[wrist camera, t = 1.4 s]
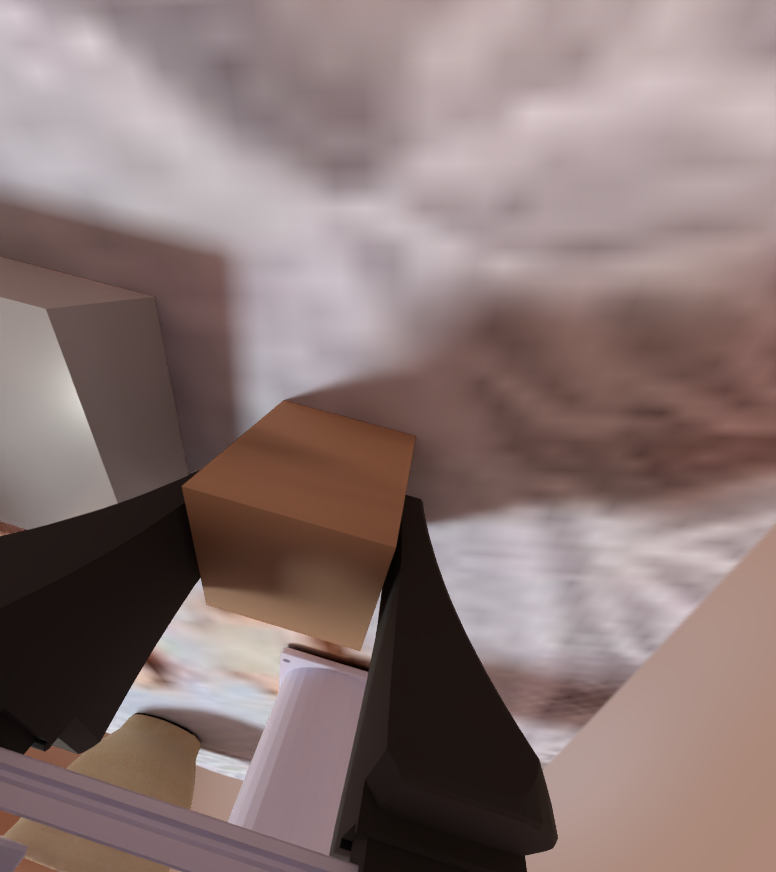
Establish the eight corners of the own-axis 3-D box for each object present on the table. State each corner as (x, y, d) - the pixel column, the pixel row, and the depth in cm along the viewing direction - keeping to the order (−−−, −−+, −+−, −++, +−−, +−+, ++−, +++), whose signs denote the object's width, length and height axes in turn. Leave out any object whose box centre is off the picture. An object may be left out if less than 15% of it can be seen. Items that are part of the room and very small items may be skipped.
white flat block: (200, 505, 15) (140, 563, 12) (21, 453, 16) (-79, 498, 13) (164, 295, 10) (45, 308, 7) (-101, 226, 11) (-318, 211, 8)
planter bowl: (232, 734, 35) (153, 907, 25) (221, 762, 43) (159, 900, 34) (97, 684, 34) (-35, 844, 24) (113, 723, 42) (19, 853, 33)
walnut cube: (388, 527, 13) (360, 651, 9) (281, 497, 14) (206, 604, 9) (416, 434, 11) (396, 547, 7) (284, 399, 11) (181, 486, 7)
